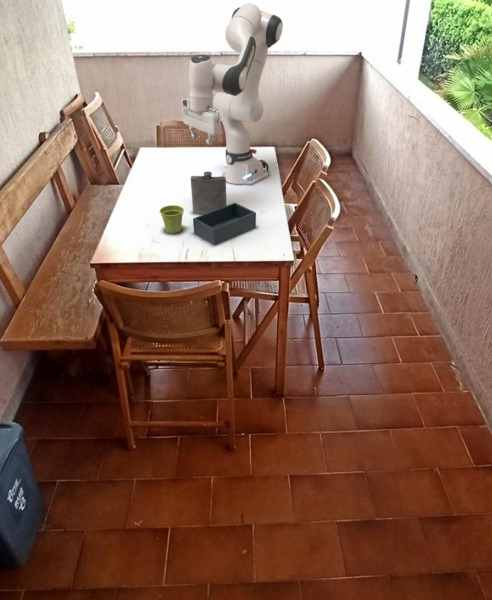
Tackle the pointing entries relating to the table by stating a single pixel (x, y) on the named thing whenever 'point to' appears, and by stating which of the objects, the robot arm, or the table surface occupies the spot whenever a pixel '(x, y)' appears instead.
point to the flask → (208, 193)
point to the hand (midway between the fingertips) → (201, 141)
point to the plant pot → (172, 218)
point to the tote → (224, 223)
